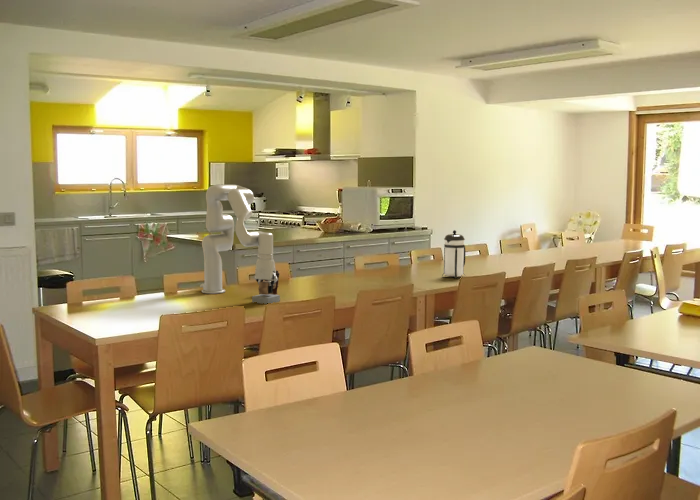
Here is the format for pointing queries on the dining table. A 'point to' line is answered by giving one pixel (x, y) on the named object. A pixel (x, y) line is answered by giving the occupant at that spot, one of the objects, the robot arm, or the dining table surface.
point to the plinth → (266, 298)
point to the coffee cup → (275, 284)
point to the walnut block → (263, 287)
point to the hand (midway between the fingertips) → (265, 292)
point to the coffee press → (454, 255)
